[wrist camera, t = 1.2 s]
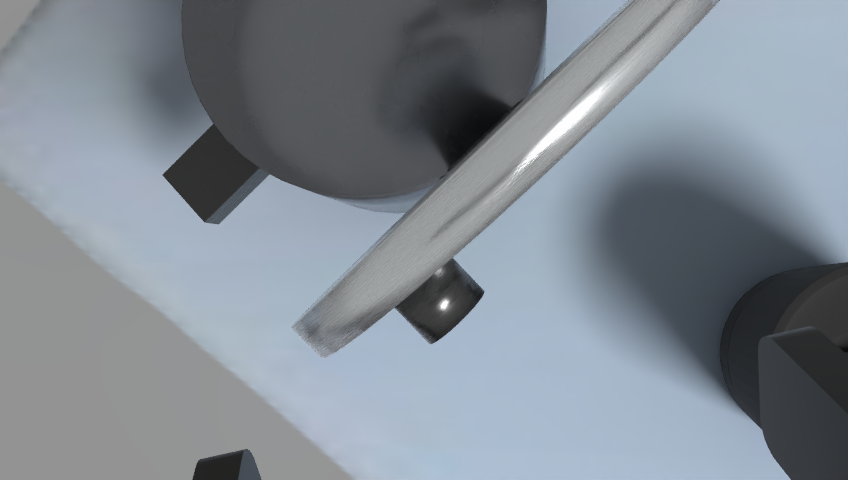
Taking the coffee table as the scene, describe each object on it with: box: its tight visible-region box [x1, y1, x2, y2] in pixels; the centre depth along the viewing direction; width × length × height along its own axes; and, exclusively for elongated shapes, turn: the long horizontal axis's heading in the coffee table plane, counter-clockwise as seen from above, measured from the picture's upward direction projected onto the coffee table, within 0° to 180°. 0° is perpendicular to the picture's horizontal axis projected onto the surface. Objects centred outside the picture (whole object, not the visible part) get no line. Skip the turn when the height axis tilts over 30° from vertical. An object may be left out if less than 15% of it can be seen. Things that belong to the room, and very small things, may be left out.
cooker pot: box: [163, 0, 547, 224], centre depth 39 cm, size 17×23×10 cm
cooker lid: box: [292, 0, 720, 358], centre depth 24 cm, size 18×17×3 cm
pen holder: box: [720, 262, 848, 429], centre depth 36 cm, size 9×9×10 cm
